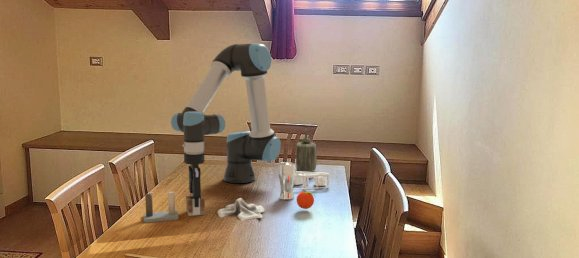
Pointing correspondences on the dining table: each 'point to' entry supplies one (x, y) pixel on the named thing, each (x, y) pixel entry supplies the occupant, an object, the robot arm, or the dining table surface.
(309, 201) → the clementine
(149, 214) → the pin stand
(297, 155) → the green square bottle
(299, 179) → the clear divided organizer
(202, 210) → the brown open cube
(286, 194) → the beer glass
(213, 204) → the dining table surface
